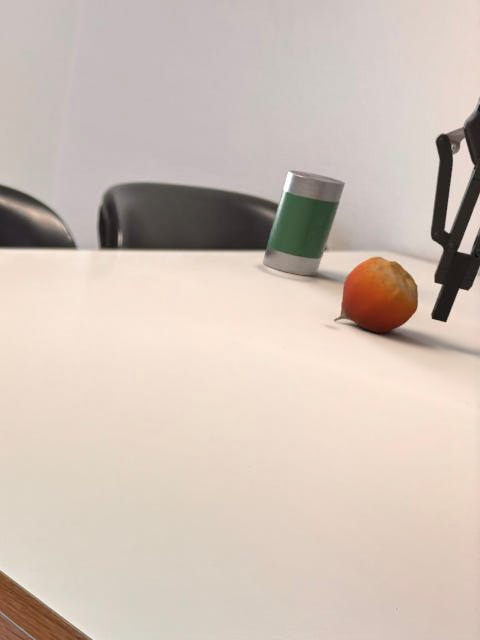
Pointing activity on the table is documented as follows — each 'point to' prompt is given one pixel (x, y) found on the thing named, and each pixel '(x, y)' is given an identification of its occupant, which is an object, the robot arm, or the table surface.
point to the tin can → (303, 223)
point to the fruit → (379, 295)
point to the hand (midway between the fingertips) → (438, 318)
